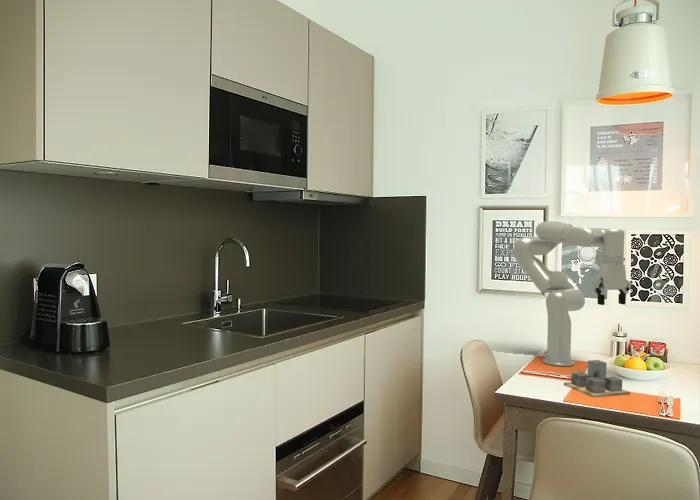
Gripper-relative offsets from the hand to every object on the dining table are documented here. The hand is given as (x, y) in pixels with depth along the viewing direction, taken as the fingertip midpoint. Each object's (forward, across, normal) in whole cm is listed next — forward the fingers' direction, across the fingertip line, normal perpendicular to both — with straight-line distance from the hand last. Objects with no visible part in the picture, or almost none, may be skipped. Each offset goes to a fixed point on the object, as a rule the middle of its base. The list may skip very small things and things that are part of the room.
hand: (611, 304), depth 221 cm
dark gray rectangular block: (+27, +15, +11) cm, 33 cm away
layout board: (+28, +18, +15) cm, 37 cm away
